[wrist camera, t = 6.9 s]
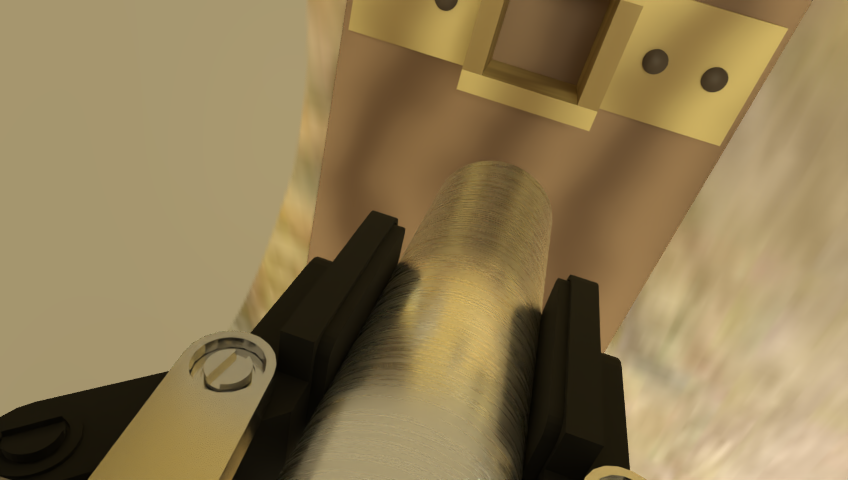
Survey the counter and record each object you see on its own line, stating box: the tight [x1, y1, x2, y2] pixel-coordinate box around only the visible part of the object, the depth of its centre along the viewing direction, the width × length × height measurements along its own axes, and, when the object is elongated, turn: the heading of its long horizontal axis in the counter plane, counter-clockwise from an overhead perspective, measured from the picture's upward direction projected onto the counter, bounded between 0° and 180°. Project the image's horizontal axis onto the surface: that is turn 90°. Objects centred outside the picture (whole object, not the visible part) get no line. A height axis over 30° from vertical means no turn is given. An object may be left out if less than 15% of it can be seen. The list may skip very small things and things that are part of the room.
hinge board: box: [307, 0, 813, 353], centre depth 31 cm, size 22×30×5 cm
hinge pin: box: [276, 161, 552, 480], centre depth 9 cm, size 4×4×13 cm
